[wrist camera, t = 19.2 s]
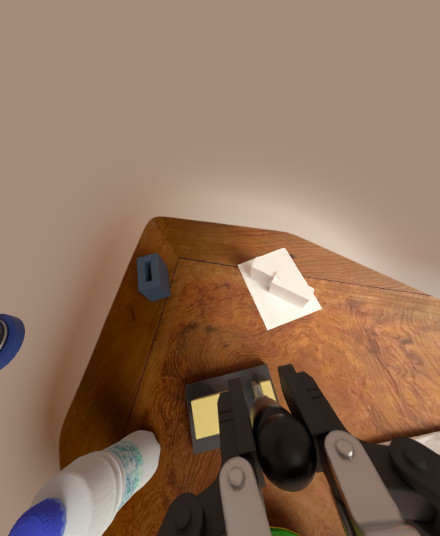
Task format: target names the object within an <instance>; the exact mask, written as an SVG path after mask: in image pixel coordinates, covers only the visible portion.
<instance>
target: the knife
mask: <svg viewBox="0 0 440 536" xmlns="http://www.w3.org/2000/svg"><path fill="white" fill-rule="evenodd" d="M251 384H252V388H253V392H254V396H255V398H254V400H255V402H254V403H253V405H252V407H251V411H250V418H251V424H252V428H253V434H254V439H255V445H256V450H257V458H258V462H259V464H260V466H261V468H262V470H263V472H264V474H265V475H266V477H267V478H268V479H269V480H270V481H271V482H272V483H273V484H274V485H275V486H277V487H278V488H280V489H283V490H285V491H290V492H296V491H300V490H302V489H304V488H306V487H307V486H308V485H309V484H310V483H311V481H312V480H313V478H314V476H315V473H316V468H317V452H316V448H315V444H314V441H313V439H312V437H311V435H310V433H309V432H308V430H307V429H306V427H305V426H304V425H303V424H302V423H301V422H300V421H299V420H298V419H296V418H295V417H294V416H293V415H292V414H290V413H289V412H288V411H287V410H286V409H284V408H283V407H282V406H281V405H280V404H278V403H277V402H276V401H275V400H273V399H272V398H269V397H267V395H264V396H263V395H262V392H261V388H260V385H259V384H258V383H256V382H255V381H253V382H251Z"/></svg>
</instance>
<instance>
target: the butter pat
mask: <svg viewBox="0 0 440 536" xmlns="http://www.w3.org/2000/svg"><path fill="white" fill-rule="evenodd" d="M259 385H260V388H261V392H262V395H263V396H264V395H267V397H269V398H272V399H273V400H275V401H276V399H275V396H274V392H273V389H272V386H271V382H270V380H264V381H260V382H259Z"/></svg>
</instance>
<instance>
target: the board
mask: <svg viewBox="0 0 440 536" xmlns="http://www.w3.org/2000/svg"><path fill="white" fill-rule="evenodd" d="M236 377H240V379H241V383H242V387H243V391H244V395H245V398H246V402H247V407H248V411H249V415H250V411H251V407H252V405H253V403H254V402H255V400H254V398H255V396H254V392H253V388H252V384H251V382H253V381H255V382H256V383H258V384H259V382H260V381H264V380H270V382H271V386H272V389H273V392H274V396H275V399H276V402H277V403H278V404H279V402H278V399H277V396H276V393H275V389H274V386H273V383H272V380H271V377H270V373H269V370H268V367H267V364H264V365H260V366H256V367H252V368H249V369H245V370H241V371H237V372H233V373H230V374H226V375H222V376H218V377H214V378H211V379H207V380H203V381H199V382H195V383H192V384H188V385H185V390H186V398H187V405H188V413H189V421H190V428H191V436H192V444H193V451H194V455H195V454H198V453H202V452H206V451H210V450H213V449H217V448H221V445H220V433H219V434H215V435H211V436H207V437H204V438H200V439H196V434H195V427H194V419H193V412H192V405H191V401H192V400H194V399H197V398H200V397H204V396H208V395H212V394H215V393H219V392H223V391H227V390H229V389H228V382H227V380H229V379H233V378H236ZM250 420H251V418H250Z"/></svg>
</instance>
